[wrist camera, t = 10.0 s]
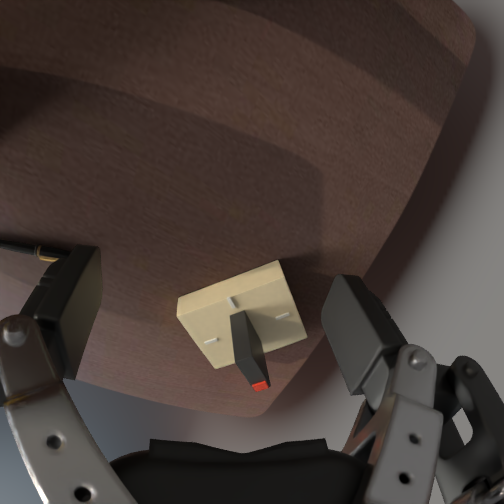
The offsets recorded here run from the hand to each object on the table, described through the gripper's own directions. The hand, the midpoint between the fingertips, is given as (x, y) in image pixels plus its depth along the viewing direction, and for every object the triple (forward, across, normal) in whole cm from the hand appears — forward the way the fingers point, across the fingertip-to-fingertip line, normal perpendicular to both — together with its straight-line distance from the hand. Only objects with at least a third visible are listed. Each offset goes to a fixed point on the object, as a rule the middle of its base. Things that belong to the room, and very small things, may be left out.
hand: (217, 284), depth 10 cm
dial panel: (+18, -6, +16) cm, 25 cm away
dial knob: (+15, -6, +16) cm, 22 cm away
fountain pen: (+18, +19, +11) cm, 28 cm away
